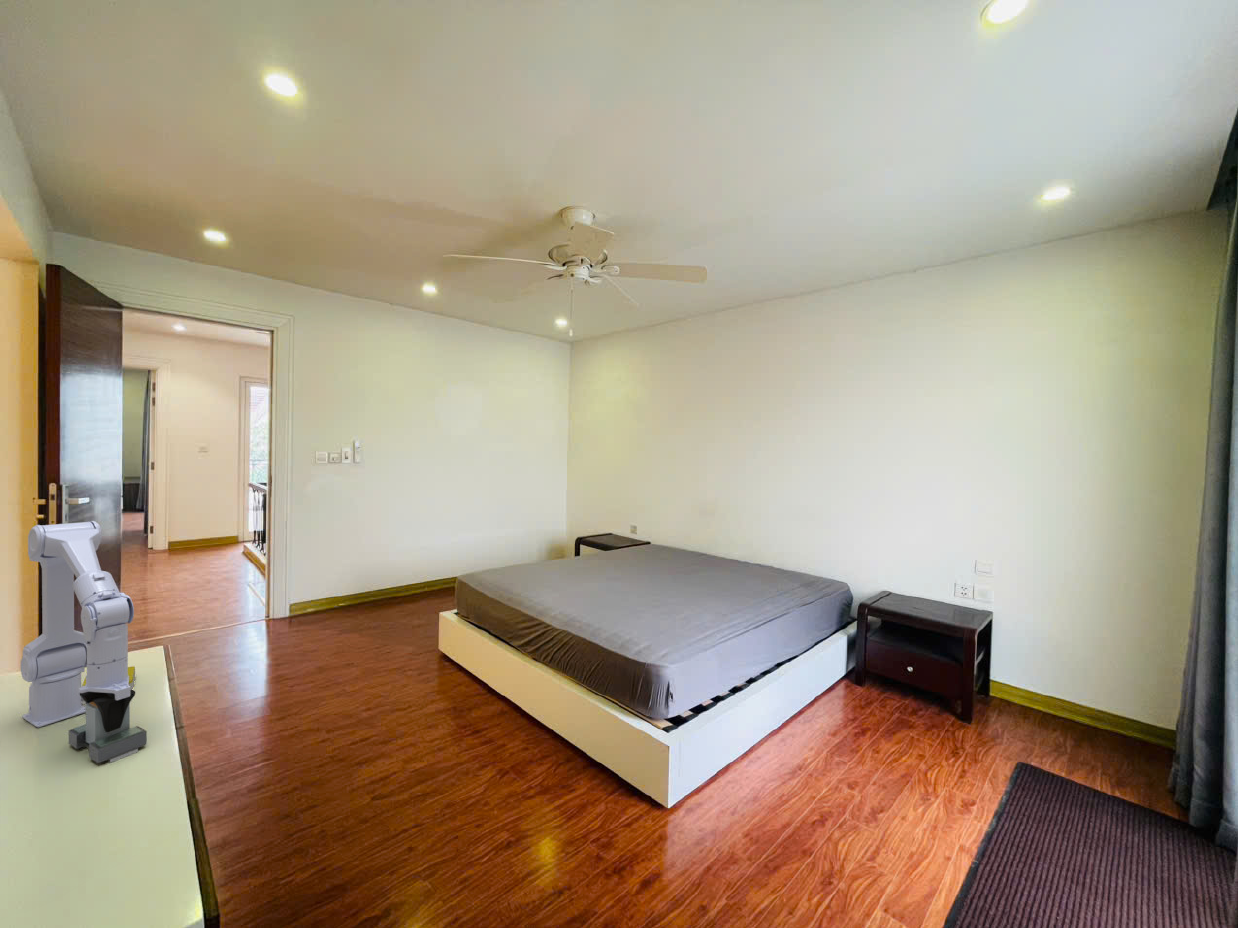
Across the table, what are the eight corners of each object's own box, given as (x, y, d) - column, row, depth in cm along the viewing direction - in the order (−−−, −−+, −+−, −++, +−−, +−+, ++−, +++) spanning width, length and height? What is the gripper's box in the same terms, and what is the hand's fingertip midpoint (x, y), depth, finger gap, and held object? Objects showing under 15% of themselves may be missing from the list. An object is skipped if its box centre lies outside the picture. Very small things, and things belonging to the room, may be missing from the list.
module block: (85, 741, 98) (85, 703, 98) (119, 729, 102) (119, 692, 102) (95, 747, 96) (95, 708, 96) (129, 735, 100) (129, 697, 100)
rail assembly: (67, 746, 99) (67, 728, 99) (114, 729, 105) (114, 712, 105) (99, 767, 93) (99, 748, 92) (147, 748, 99) (147, 730, 99)
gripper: (64, 659, 98) (64, 727, 99) (95, 674, 92) (95, 746, 92) (112, 647, 105) (112, 711, 105) (144, 660, 98) (144, 728, 98)
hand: (107, 726), depth 99 cm, fingers closed on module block, 4 cm apart
